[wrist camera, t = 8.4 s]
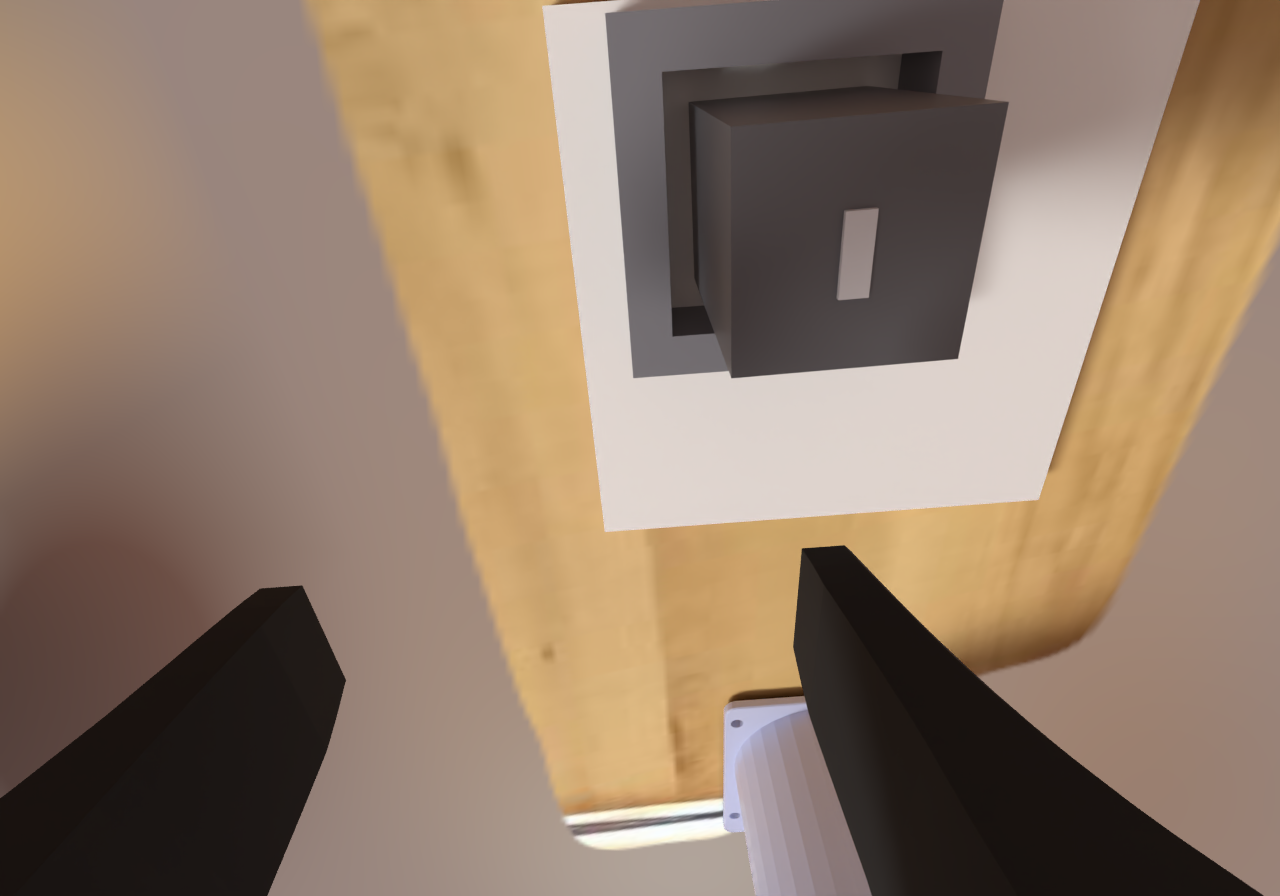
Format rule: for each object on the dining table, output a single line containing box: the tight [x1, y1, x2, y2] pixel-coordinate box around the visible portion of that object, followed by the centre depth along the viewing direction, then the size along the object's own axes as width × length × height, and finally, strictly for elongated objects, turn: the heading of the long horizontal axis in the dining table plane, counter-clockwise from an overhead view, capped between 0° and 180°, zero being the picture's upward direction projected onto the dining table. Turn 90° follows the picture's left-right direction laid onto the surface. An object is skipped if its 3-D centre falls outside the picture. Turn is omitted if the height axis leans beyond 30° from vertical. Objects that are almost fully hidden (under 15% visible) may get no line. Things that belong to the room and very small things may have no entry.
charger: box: [689, 86, 1009, 378], centre depth 13 cm, size 4×4×6 cm
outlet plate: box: [542, 0, 1200, 532], centre depth 17 cm, size 14×14×3 cm
